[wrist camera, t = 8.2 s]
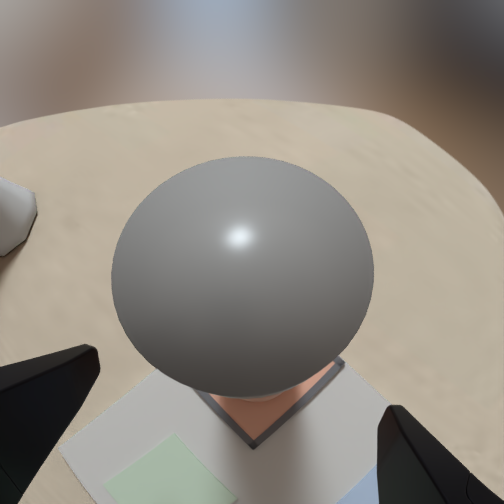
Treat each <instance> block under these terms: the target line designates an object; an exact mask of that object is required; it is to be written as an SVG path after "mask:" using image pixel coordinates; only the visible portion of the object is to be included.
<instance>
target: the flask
mask: <svg viewBox="0 0 504 504" xmlns="http://www.w3.org/2000/svg"><path fill="white" fill-rule="evenodd" d="M36 213H37V207H36V200H35V193H34V192H32V191H30V190H28V189H26V188H24V187H21V186H19V185H17V184H15V183H12V182H10V181H8V180H6V179H4V178H2V177H0V256H5V255H6V254H7V253H8V252H10V251H11V250H12V249H13V248H15V247H16V246H17V245H19V244H20V243H21V242H23V241H24V240H25V239H26V237H27V235H28V232H29V230H30V227H31V225H32V222H33V220H34V218H35V215H36Z"/></svg>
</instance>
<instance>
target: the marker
mask: <svg viewBox="0 0 504 504" xmlns="http://www.w3.org/2000/svg"><path fill="white" fill-rule="evenodd" d="M111 280H112V294H113V300H114V305H115V309H116V312H117V315H118V318H119V321H120V323H121V325H122V327H123V329H124V331H125V333H126V335H127V336H128V338H129V339H130V341H131V342H132V344H133V345H134V347H135V348H136V349H137V350H138V352H139V353H140V354H141V355H142V356H143V357H144V358H145V359H146V360H147V361H148V362H149V363H150V364H151V365H153V366H154V367H155V368H157V369H158V370H159V371H160V372H162V373H163V374H165V375H166V376H168V377H170V378H172V379H173V380H175V381H177V382H179V383H181V384H183V385H186V386H189V387H191V388H194V389H196V390H199V391H203V392H206V393H210V394H213V395H218V396H223V397H227V398H238V399H242V400H245V401H249V402H264V401H268V400H271V399H273V398H275V397H277V396H279V395H280V394H281V393H283V392H284V391H287V390H289V389H292V388H293V387H295V386H297V385H299V384H301V383H303V382H304V381H306V380H307V379H309V378H311V377H312V376H314V375H315V374H317V373H318V372H319V371H321V370H322V369H323V368H325V367H326V366H327V365H328V364H330V363H331V362H332V361H333V360H334V359H335V358H336V357H337V356H338V355H339V354H340V353H341V352H342V351H343V350H344V349H345V348H346V347H347V346H348V344H349V343H350V341H351V340H352V339H353V337H354V336H355V334H356V333H357V331H358V329H359V327H360V325H361V323H362V321H363V319H364V317H365V315H366V312H367V309H368V306H369V303H370V300H371V295H372V289H373V283H374V264H373V256H372V250H371V246H370V243H369V239H368V236H367V233H366V231H365V229H364V227H363V224H362V222H361V220H360V219H359V217H358V215H357V214H356V212H355V211H354V209H353V208H352V207H351V205H350V204H349V203H348V202H347V200H346V199H345V198H344V197H343V196H342V195H341V194H340V193H339V192H338V191H337V190H336V189H335V188H334V187H332V186H331V185H330V184H328V183H327V182H326V181H324V180H323V179H322V178H320V177H318V176H317V175H315V174H313V173H311V172H310V171H307V170H305V169H303V168H301V167H299V166H296V165H293V164H290V163H287V162H284V161H280V160H275V159H270V158H263V157H229V158H222V159H217V160H212V161H208V162H205V163H202V164H199V165H196V166H193V167H191V168H189V169H186V170H184V171H182V172H180V173H178V174H176V175H175V176H173V177H171V178H170V179H168V180H167V181H165V182H164V183H162V184H161V185H159V186H158V187H157V188H156V189H155V190H154V191H152V192H151V193H150V194H149V195H148V196H147V197H146V198H145V199H144V200H143V201H142V202H141V203H140V205H139V206H138V207H137V208H136V210H135V211H134V212H133V214H132V215H131V217H130V218H129V220H128V222H127V223H126V225H125V227H124V229H123V231H122V233H121V235H120V238H119V240H118V243H117V246H116V250H115V254H114V257H113V264H112V273H111Z"/></svg>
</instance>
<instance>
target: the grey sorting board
mask: <svg viewBox="0 0 504 504" xmlns="http://www.w3.org/2000/svg"><path fill="white" fill-rule="evenodd" d="M389 405H392V404H391V403H390V402H389V401H388V400H386V399H385V398H384V397H383V396H382V395H381V394H380V393H379V392H378V391H377V390H376V389H374V388H373V387H372V386H371V385H370V384H369V383H368V382H367V381H366V380H365V379H364V378H363V377H361V376H360V375H359V374H358V373H357V372H356V371H355V370H354V369H353V368H352V367H351V366H350V365H348V364H347V363H346V362H345V361H344V360H343V359H342V358H341V357H340V356H339V355H338V356H337V357H336V358H335V359H334V360H333V361H332V362H331V363H330V364H328V365H327V366H326V367H325V368H323V369H322V370H321V371H319V372H318V373H317V374H315V375H314V376H312V377H311V378H309V379H307V380H306V381H304V382H303V383H301V384H299V385H297V386H295V387H293V388H292V389H289V390H287V391H284V392H283V393H281V394H280V395H279V396H277V397H275V398H273V399H271V400H268V401H264V402H249V401H245V400H242V399H238V398H227V397H223V396H218V395H213V394H210V393H206V392H203V391H199V390H196V389H194V388H191V387H189V386H186V385H183V384H181V383H179V382H177V381H175V380H173V379H172V378H170V377H168V376H166V375H165V374H163V373H162V372H160V371H159V370H158V369H155V370H154V371H153V372H152V373H151V374H149V375H148V376H147V377H146V378H145V379H143V380H142V381H141V382H140V383H138V384H137V385H136V386H135V387H134V388H132V389H131V390H130V391H129V392H127V393H126V394H125V395H124V396H123V397H121V398H120V399H119V400H118V401H116V402H115V403H114V404H113V405H111V406H110V407H109V408H108V409H106V410H105V411H104V412H103V413H101V414H100V415H99V416H98V417H96V418H95V419H94V420H93V421H91V422H90V423H89V424H88V425H86V426H85V427H84V428H83V429H81V430H80V431H79V432H77V433H76V434H75V435H74V436H72V437H71V438H70V439H69V440H67V441H66V442H65V443H63V444H62V445H61V446H60V447H58V449H59V451H60V452H61V454H62V455H63V457H64V459H65V460H66V462H67V463H68V465H69V466H70V468H71V469H72V471H73V472H74V474H75V475H76V476H77V478H78V479H79V481H80V482H81V483H82V485H83V486H84V488H85V489H86V490H87V492H88V493H89V494H90V495H91V497H92V498H93V499H94V501H95V502H96V503H97V504H379V497H378V484H377V428H378V424H379V422H380V420H381V418H382V416H383V414H384V412H385V410H386V408H387V406H389Z"/></svg>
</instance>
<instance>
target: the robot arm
mask: <svg viewBox="0 0 504 504" xmlns="http://www.w3.org/2000/svg"><path fill="white" fill-rule="evenodd" d="M99 373H100V363H99V357H98V351H97V349H96V348H95V347H93V346H90V345H88V344H83V345H80V346H76V347H72V348H69V349H65V350H62V351H58V352H55V353H51V354H47V355H44V356H40V357H36V358H32V359H29V360H25V361H21V362H17V363H13V364H9V365H6V366H2V367H0V504H18V502H19V501H20V499H21V497H22V496H23V494H24V492H25V491H26V489H27V488H28V486H29V484H30V483H31V481H32V480H33V478H34V477H35V475H36V473H37V472H38V470H39V469H40V467H41V466H42V464H43V463H44V461H45V460H46V458H47V457H48V455H49V454H50V452H51V451H52V449H53V448H54V446H55V445H56V443H57V442H58V440H59V439H60V437H61V436H62V434H63V433H64V431H65V430H66V428H67V427H68V426H69V424H70V423H71V421H72V420H73V418H74V417H75V415H76V414H77V413H78V411H79V409H80V408H81V406H82V405H83V403H84V401H85V399H86V397H87V395H88V394H89V392H90V390H91V388H92V386H93V385H94V383H95V381H96V379H97V377H98V376H99ZM377 484H378V497H379V504H504V501H503V500H502V499H501V498H499V497H498V496H497V495H496V494H494V493H493V492H492V491H491V490H490V489H488V488H487V487H486V486H485V485H484V484H483V483H482V482H481V481H480V480H478V479H477V478H476V477H475V476H474V475H473V474H472V473H470V471H469V470H468V469H467V468H466V467H465V466H464V465H463V464H462V463H461V462H460V461H459V460H458V459H457V458H455V457H454V456H453V455H452V454H451V453H450V452H449V451H448V450H447V449H446V448H445V447H444V446H443V445H442V444H441V443H440V442H439V441H438V440H437V439H436V438H435V437H434V436H433V435H432V434H431V433H430V432H429V431H428V430H427V429H426V428H425V427H424V426H422V425H421V424H420V423H419V422H418V421H417V420H416V419H415V418H414V417H413V416H412V415H411V414H410V413H409V412H408V411H407V410H406V409H405V408H404V407H403V406H401V405H389V406H387V408H386V410H385V412H384V414H383V416H382V418H381V420H380V422H379V424H378V428H377Z"/></svg>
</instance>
